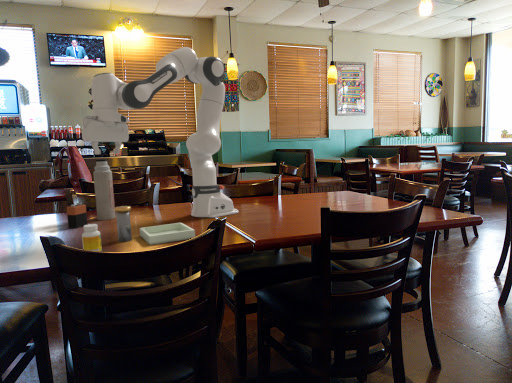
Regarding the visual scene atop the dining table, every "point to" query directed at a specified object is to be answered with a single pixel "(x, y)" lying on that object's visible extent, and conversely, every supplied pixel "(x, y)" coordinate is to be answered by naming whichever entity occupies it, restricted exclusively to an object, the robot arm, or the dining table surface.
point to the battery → (76, 215)
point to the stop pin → (123, 223)
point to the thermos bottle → (104, 190)
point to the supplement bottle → (91, 238)
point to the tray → (166, 233)
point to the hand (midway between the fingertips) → (107, 154)
